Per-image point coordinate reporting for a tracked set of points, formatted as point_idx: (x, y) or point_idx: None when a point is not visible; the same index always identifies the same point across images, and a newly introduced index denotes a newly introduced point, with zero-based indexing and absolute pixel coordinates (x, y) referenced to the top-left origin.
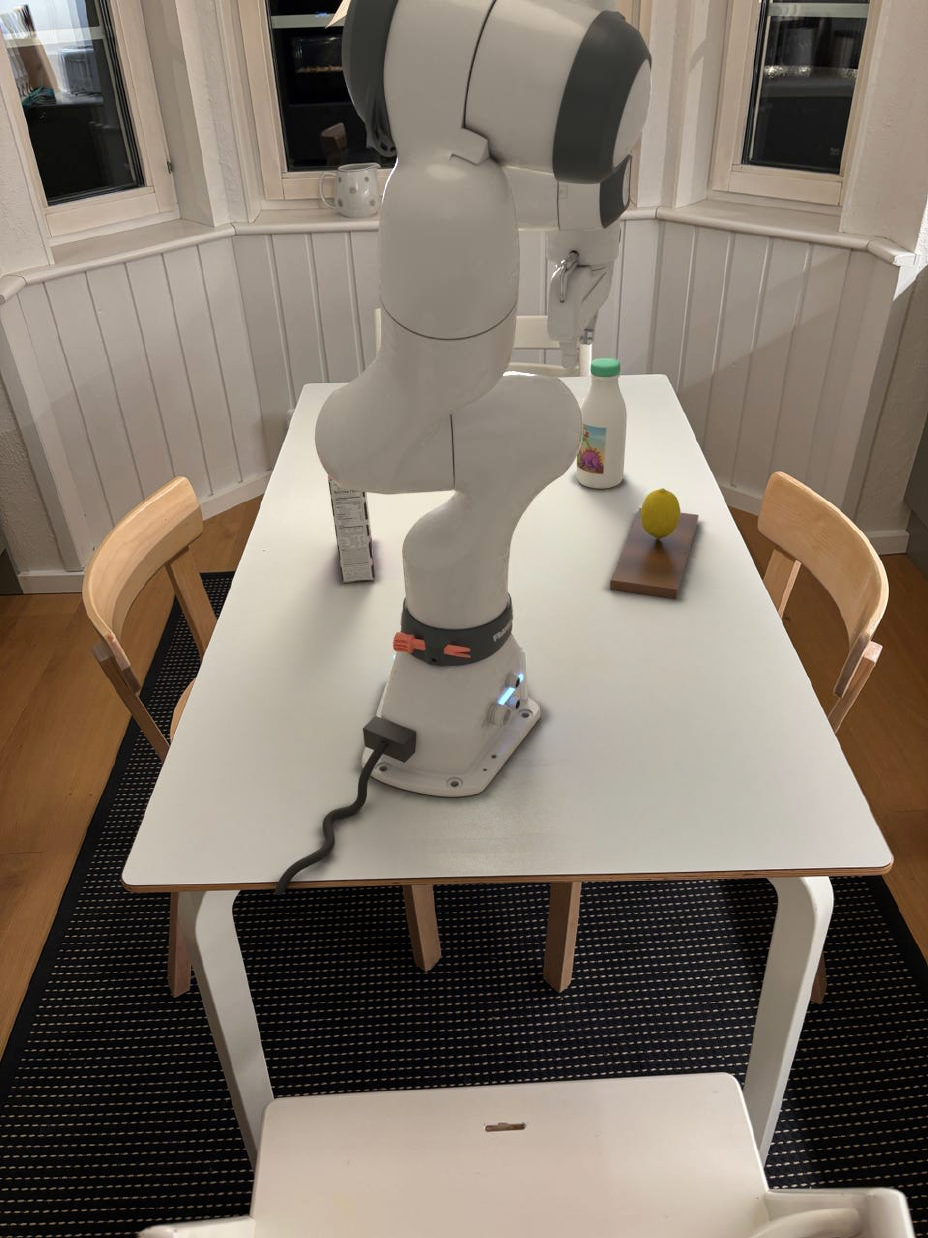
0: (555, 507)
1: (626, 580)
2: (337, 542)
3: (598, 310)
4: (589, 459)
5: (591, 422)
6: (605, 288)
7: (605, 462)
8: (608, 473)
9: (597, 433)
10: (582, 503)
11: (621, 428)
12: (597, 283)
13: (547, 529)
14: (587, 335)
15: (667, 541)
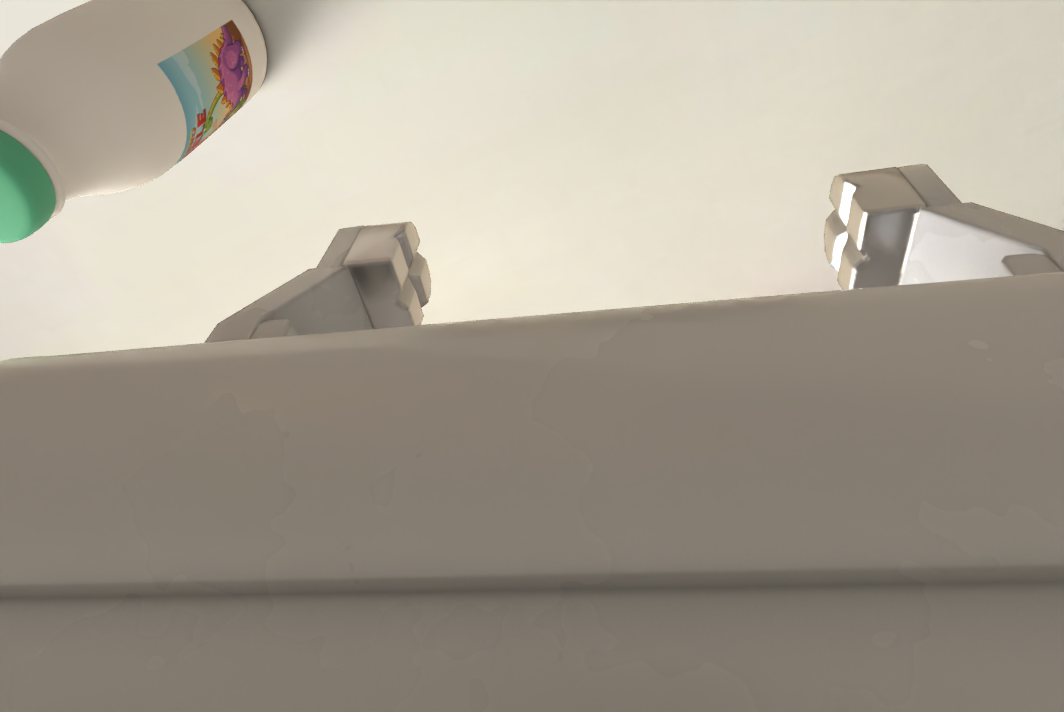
0: (410, 90)
1: None
2: None
3: (210, 337)
4: (235, 77)
5: (177, 121)
6: (64, 439)
7: (212, 25)
8: (220, 5)
9: (187, 85)
10: (352, 30)
11: (104, 17)
12: (410, 579)
13: (524, 63)
14: (405, 274)
15: None
